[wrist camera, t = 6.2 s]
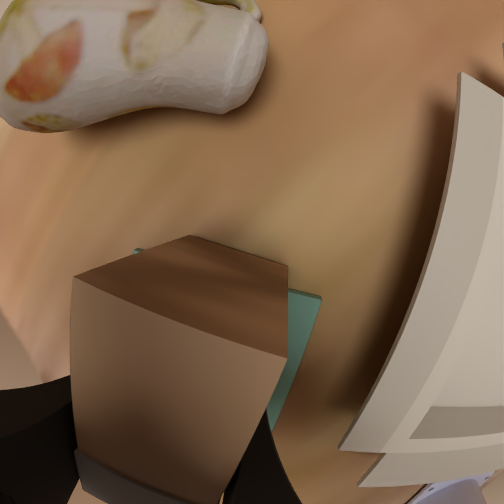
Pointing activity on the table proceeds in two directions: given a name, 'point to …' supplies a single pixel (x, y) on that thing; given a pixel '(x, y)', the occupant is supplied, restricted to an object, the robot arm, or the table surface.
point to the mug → (125, 59)
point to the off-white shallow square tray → (449, 325)
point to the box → (173, 369)
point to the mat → (291, 344)
